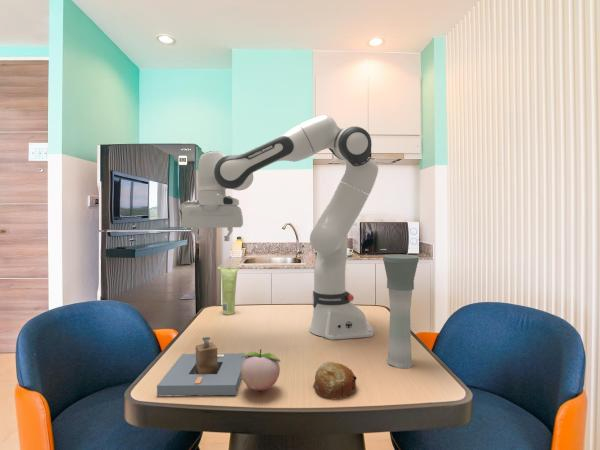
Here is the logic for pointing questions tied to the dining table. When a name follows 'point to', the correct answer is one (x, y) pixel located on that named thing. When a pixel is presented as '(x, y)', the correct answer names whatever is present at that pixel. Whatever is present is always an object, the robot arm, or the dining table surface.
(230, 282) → the tube
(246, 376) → the decorative fruit
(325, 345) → the dining table surface
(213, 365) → the wooden peg with knob
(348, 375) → the bread roll
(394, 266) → the container
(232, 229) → the robot arm
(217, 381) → the socket plate
